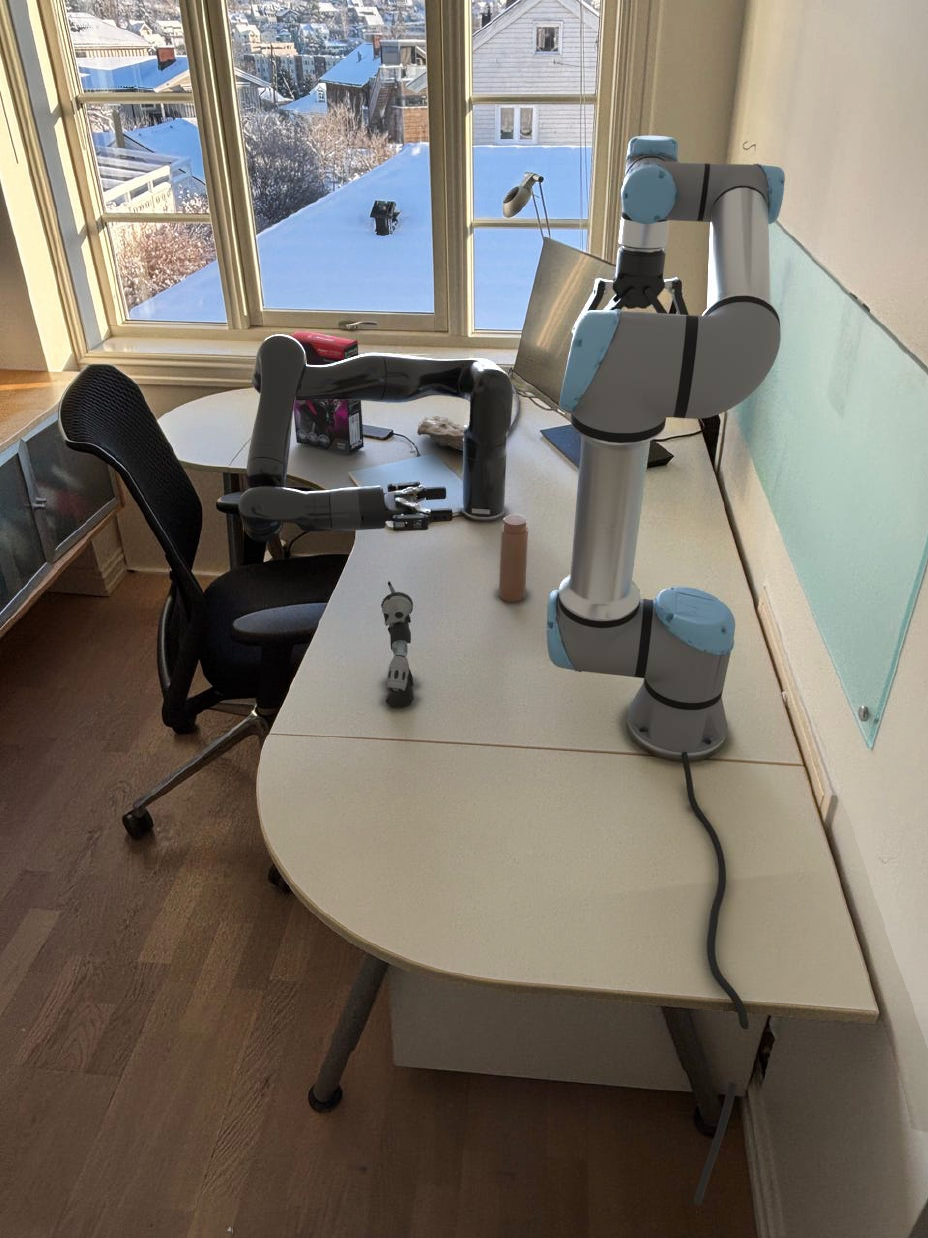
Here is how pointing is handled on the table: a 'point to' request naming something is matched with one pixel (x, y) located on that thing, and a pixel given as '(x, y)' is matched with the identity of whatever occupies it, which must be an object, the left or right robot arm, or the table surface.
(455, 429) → the stone
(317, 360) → the graphics card box
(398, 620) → the robot
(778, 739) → the table surface
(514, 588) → the jar
